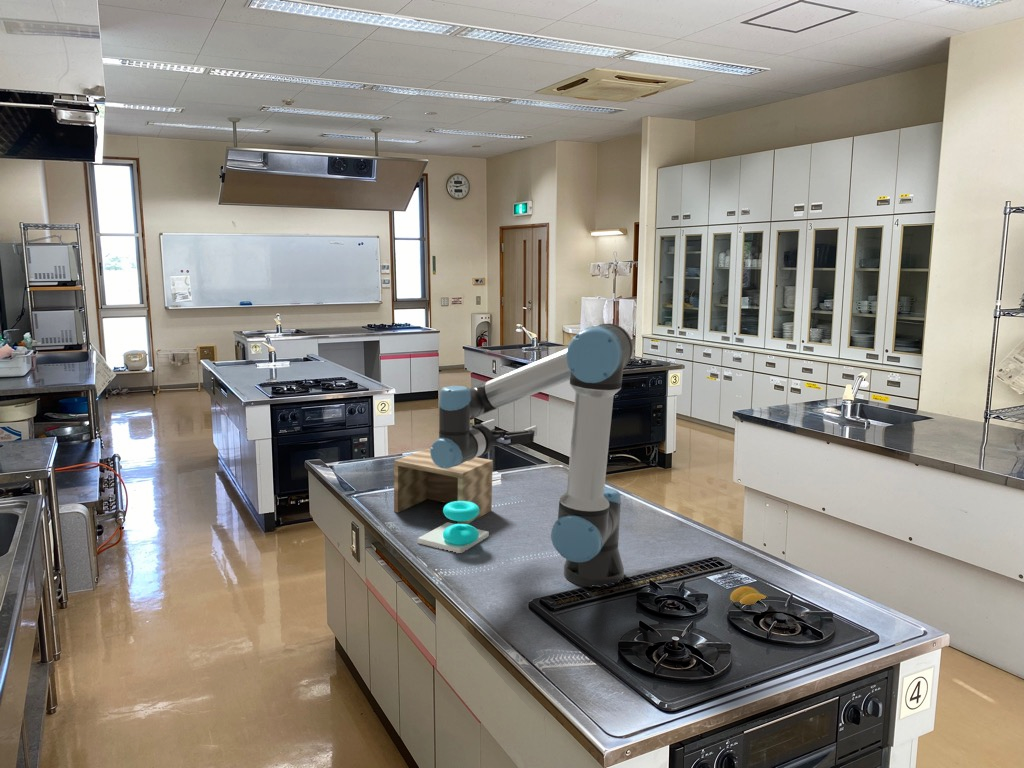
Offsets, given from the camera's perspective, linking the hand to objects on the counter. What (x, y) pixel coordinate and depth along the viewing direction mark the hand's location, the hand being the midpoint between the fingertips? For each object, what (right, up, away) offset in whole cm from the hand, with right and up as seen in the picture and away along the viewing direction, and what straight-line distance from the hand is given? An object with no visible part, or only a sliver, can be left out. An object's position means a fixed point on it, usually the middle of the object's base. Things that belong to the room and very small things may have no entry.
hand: (514, 427), depth 209 cm
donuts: (-15, -31, -3) cm, 35 cm away
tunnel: (-22, -28, +24) cm, 43 cm away
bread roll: (+55, -40, -35) cm, 77 cm away
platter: (-17, -32, 0) cm, 36 cm away
